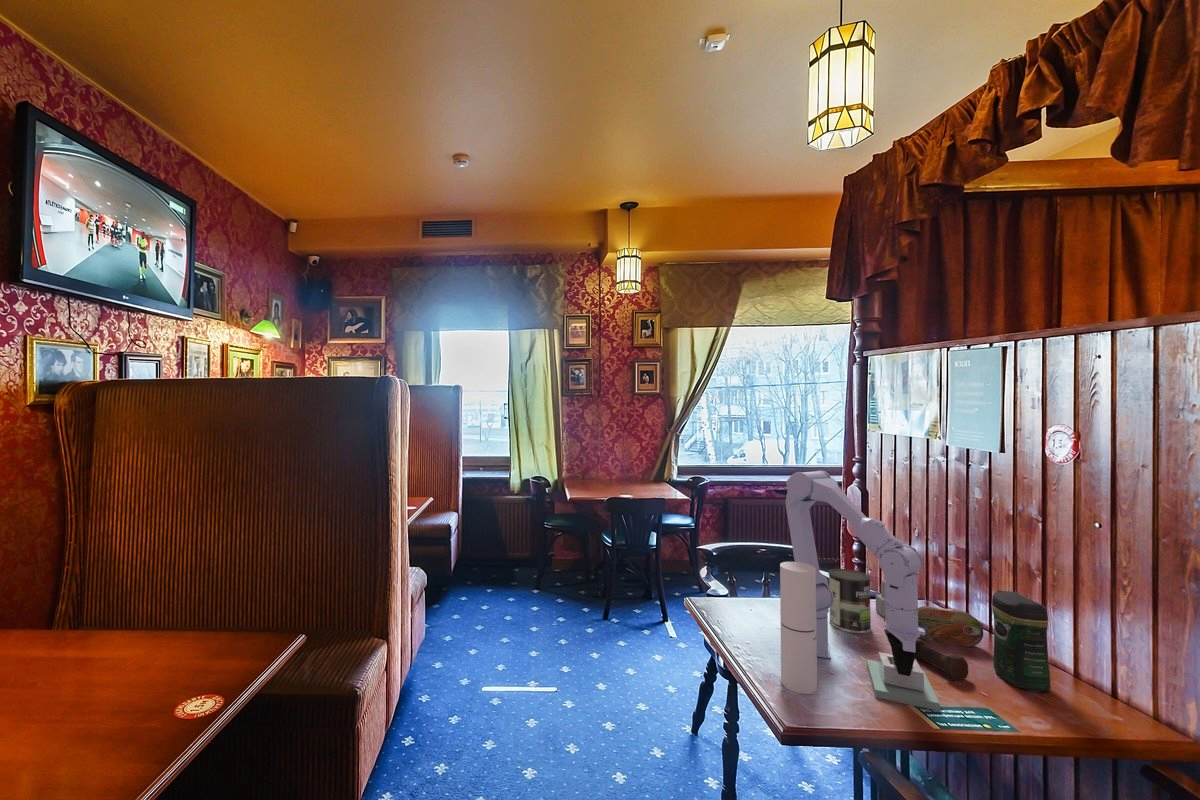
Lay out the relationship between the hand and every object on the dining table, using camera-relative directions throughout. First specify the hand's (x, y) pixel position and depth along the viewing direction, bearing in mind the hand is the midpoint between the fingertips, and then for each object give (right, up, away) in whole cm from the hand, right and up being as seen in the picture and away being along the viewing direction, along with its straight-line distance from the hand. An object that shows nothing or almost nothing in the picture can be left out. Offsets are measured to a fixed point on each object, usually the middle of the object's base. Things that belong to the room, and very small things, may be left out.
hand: (902, 671), depth 95 cm
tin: (+27, -6, +23) cm, 36 cm away
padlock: (+21, -7, +38) cm, 44 cm away
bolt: (+14, -6, +12) cm, 19 cm away
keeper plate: (+1, -5, +2) cm, 5 cm away
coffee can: (+6, -6, +32) cm, 33 cm away
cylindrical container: (-20, -5, +3) cm, 21 cm away
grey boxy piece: (+1, -3, +2) cm, 4 cm away
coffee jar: (+30, -5, +5) cm, 31 cm away
